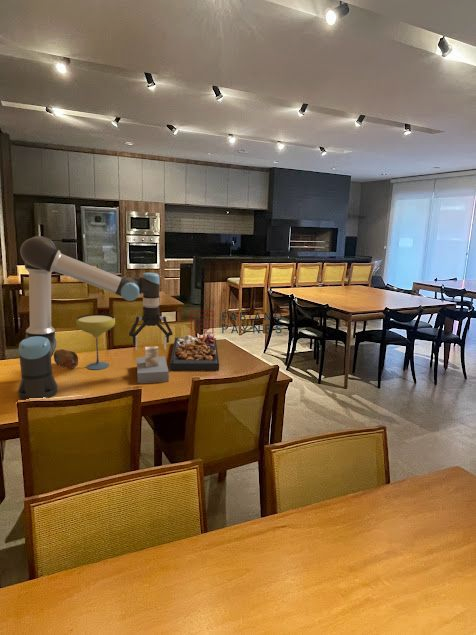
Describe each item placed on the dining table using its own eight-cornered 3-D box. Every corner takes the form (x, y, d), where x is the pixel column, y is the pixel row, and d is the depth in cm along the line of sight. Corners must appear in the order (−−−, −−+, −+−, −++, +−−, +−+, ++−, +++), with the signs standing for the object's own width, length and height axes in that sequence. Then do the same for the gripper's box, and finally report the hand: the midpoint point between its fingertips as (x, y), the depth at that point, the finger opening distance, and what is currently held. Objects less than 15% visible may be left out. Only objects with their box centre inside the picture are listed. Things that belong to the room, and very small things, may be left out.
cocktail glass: (123, 363, 216) (122, 316, 210) (102, 374, 199) (100, 324, 194) (93, 358, 221) (91, 312, 216) (70, 369, 205) (67, 320, 199)
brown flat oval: (53, 364, 211) (52, 348, 209) (58, 362, 213) (57, 347, 211) (74, 370, 204) (73, 354, 202) (79, 368, 207) (79, 352, 205)
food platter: (174, 344, 252) (174, 328, 249) (215, 345, 254) (216, 328, 252) (169, 371, 208) (169, 352, 206) (219, 371, 210) (219, 352, 208)
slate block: (137, 383, 191) (137, 373, 189) (136, 366, 211) (136, 357, 210) (168, 381, 194) (168, 371, 193) (164, 365, 215) (164, 356, 214)
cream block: (145, 366, 198) (145, 350, 196) (145, 362, 204) (145, 346, 202) (158, 366, 199) (158, 350, 198) (157, 361, 205) (157, 346, 203)
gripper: (123, 307, 188) (123, 352, 193) (178, 307, 194) (178, 351, 199) (123, 304, 195) (124, 347, 200) (177, 304, 202) (176, 346, 206)
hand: (151, 349), depth 200 cm, fingers open, 13 cm apart
